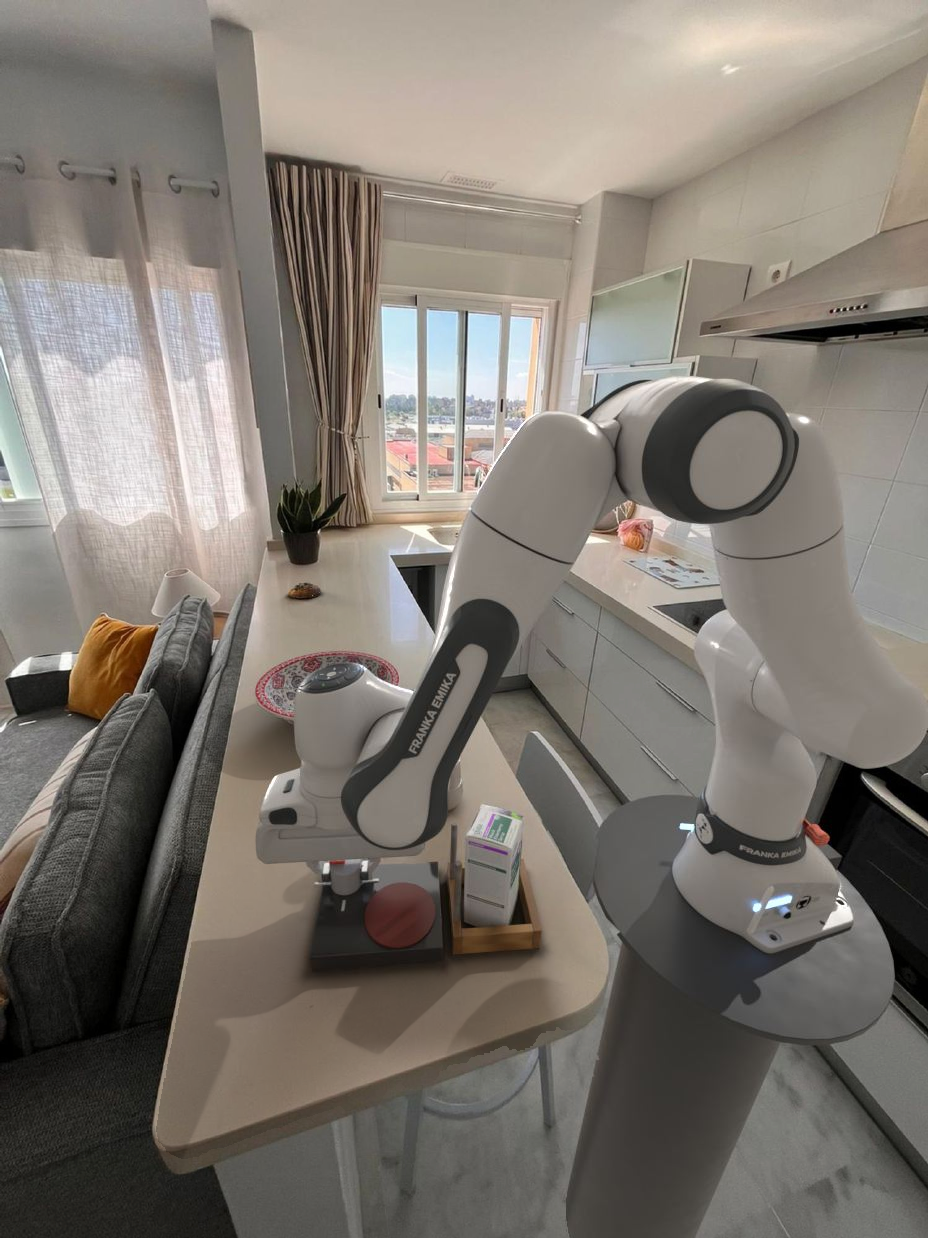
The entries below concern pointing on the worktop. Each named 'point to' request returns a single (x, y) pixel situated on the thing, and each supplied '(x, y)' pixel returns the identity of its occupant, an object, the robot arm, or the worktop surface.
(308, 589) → the bread roll
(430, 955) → the hob
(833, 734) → the robot arm
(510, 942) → the brown wooden holder
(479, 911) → the syrup box
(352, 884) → the hob knob
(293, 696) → the ceramic bowl
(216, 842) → the worktop surface
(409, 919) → the hotplate
